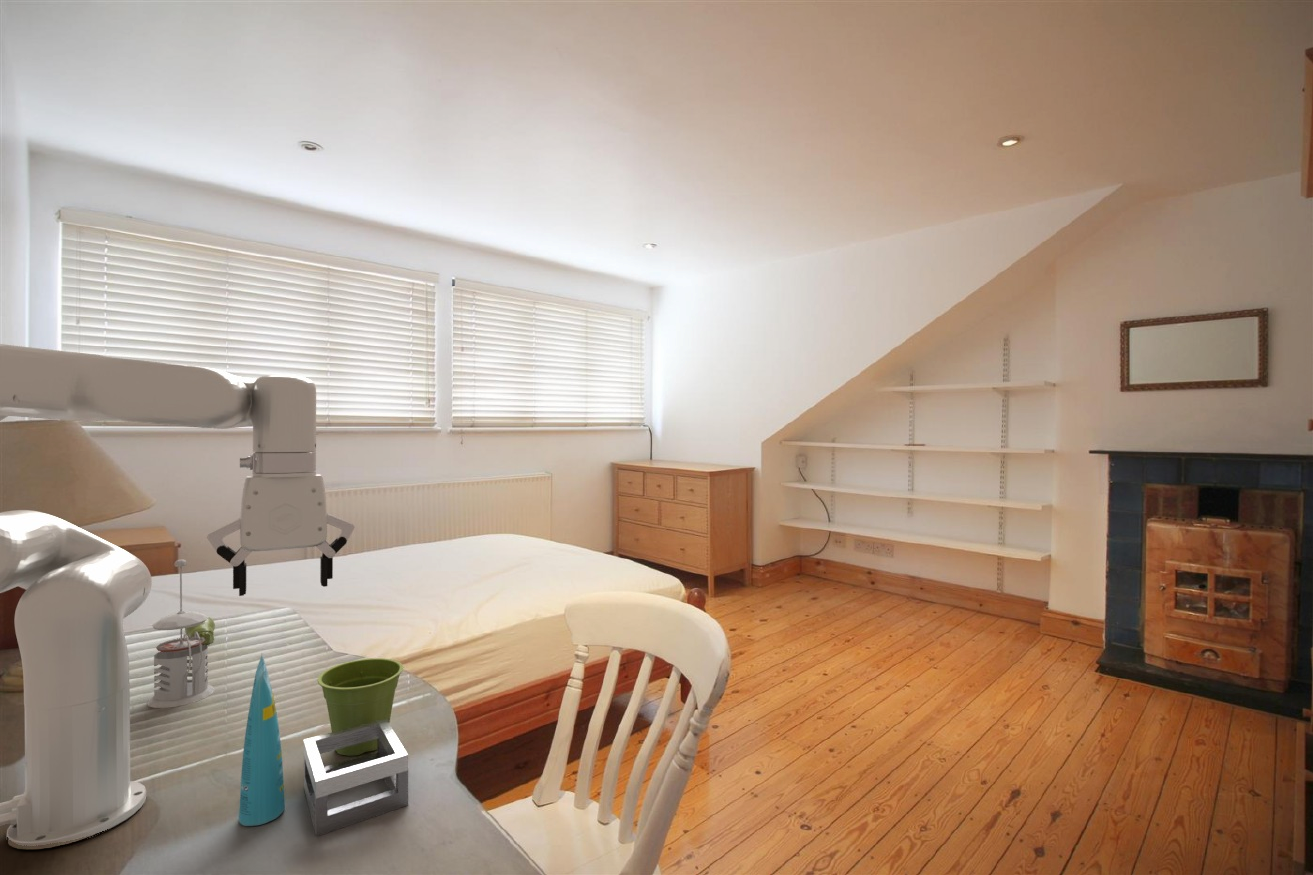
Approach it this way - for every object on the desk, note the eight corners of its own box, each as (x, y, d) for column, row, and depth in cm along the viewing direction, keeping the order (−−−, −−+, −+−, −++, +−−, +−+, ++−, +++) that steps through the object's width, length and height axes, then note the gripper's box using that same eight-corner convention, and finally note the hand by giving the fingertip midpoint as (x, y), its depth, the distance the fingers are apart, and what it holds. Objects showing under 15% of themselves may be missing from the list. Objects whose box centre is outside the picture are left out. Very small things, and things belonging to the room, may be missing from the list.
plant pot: (308, 771, 87) (307, 691, 87) (328, 732, 98) (328, 661, 98) (398, 759, 90) (397, 682, 90) (408, 722, 101) (407, 654, 101)
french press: (202, 681, 119) (201, 552, 119) (228, 695, 112) (227, 558, 112) (138, 699, 111) (137, 560, 111) (162, 715, 104) (161, 568, 104)
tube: (289, 821, 76) (288, 665, 75) (242, 838, 72) (241, 675, 72) (279, 794, 81) (278, 649, 81) (235, 808, 78) (234, 658, 78)
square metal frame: (316, 836, 73) (316, 781, 73) (303, 787, 83) (303, 739, 83) (408, 805, 79) (408, 754, 79) (386, 763, 89) (386, 718, 89)
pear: (213, 610, 148) (218, 626, 140) (212, 631, 148) (217, 648, 141) (183, 614, 144) (187, 631, 137) (183, 636, 145) (187, 654, 137)
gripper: (205, 468, 77) (204, 604, 77) (357, 465, 86) (356, 586, 86) (210, 465, 84) (209, 591, 84) (351, 463, 93) (351, 576, 93)
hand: (284, 589), depth 85 cm, fingers open, 9 cm apart
